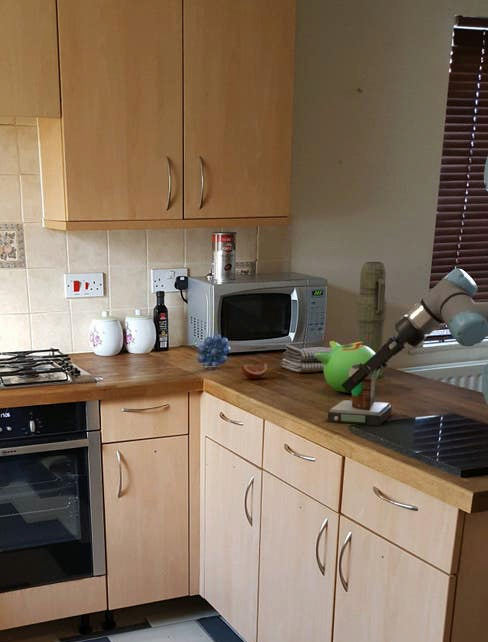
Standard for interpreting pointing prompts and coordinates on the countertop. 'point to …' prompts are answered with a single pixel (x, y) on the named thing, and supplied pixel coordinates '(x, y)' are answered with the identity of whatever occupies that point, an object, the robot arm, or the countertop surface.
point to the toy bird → (343, 362)
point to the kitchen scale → (359, 413)
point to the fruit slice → (254, 370)
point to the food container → (363, 390)
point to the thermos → (371, 306)
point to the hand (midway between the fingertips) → (352, 384)
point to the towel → (303, 359)
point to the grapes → (213, 351)
